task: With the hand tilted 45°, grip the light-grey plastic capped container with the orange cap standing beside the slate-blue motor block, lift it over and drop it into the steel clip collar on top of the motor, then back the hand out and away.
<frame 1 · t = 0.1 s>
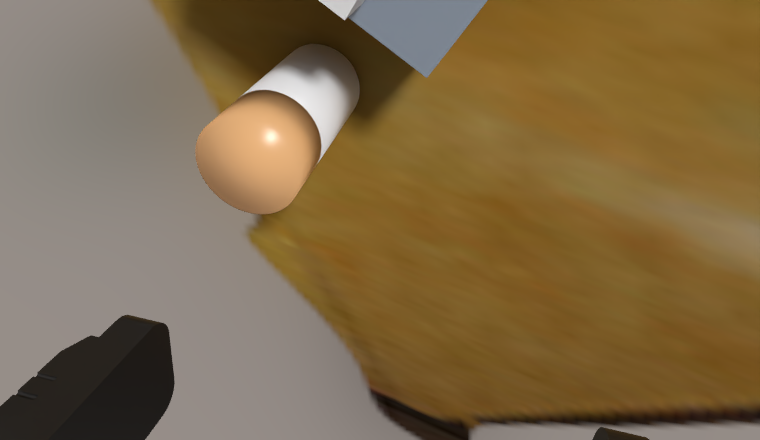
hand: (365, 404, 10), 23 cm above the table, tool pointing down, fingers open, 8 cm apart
capped container: (320, 85, 31), on the table
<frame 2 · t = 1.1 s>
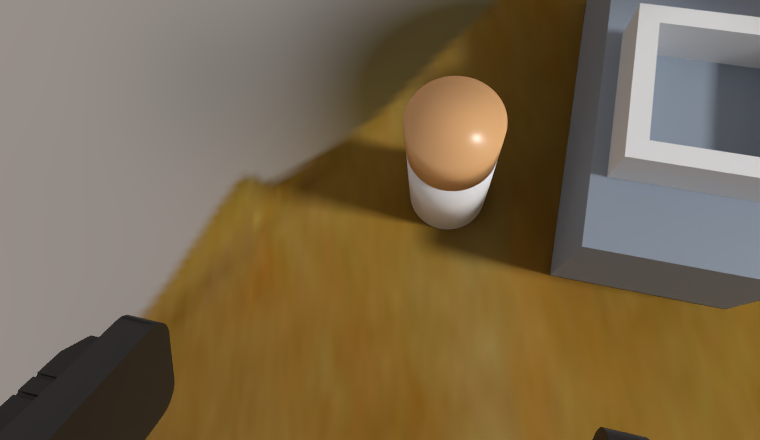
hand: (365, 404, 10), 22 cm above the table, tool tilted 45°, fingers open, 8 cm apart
capped container: (447, 193, 34), on the table
motor mount: (649, 140, 34), on the table
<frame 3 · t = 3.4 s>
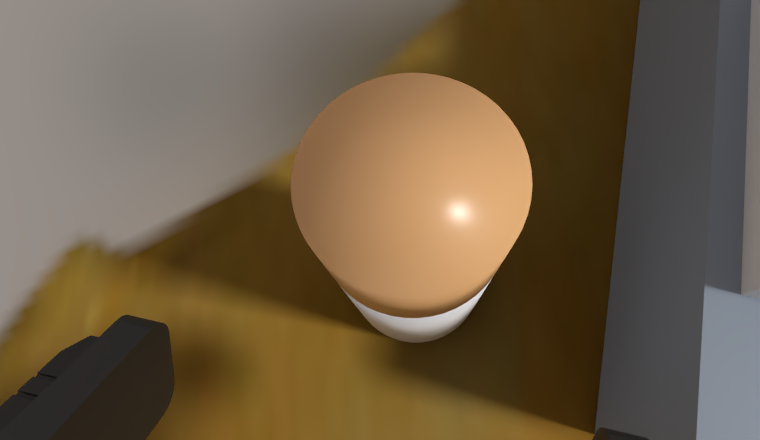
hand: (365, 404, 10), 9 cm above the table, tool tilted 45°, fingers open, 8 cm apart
capped container: (415, 277, 20), on the table
motor mount: (759, 189, 20), on the table
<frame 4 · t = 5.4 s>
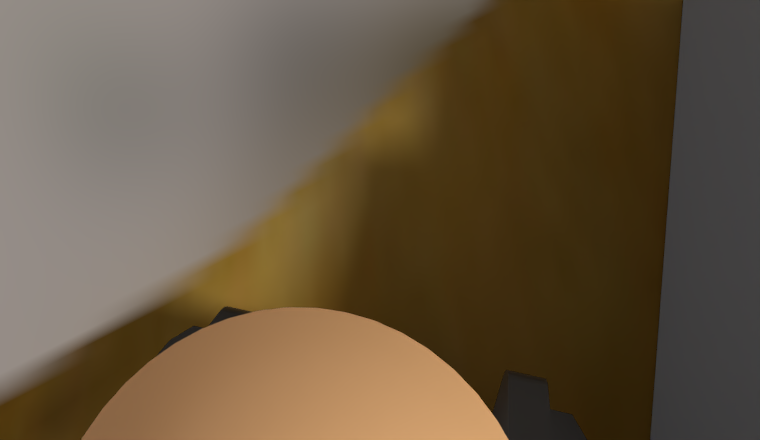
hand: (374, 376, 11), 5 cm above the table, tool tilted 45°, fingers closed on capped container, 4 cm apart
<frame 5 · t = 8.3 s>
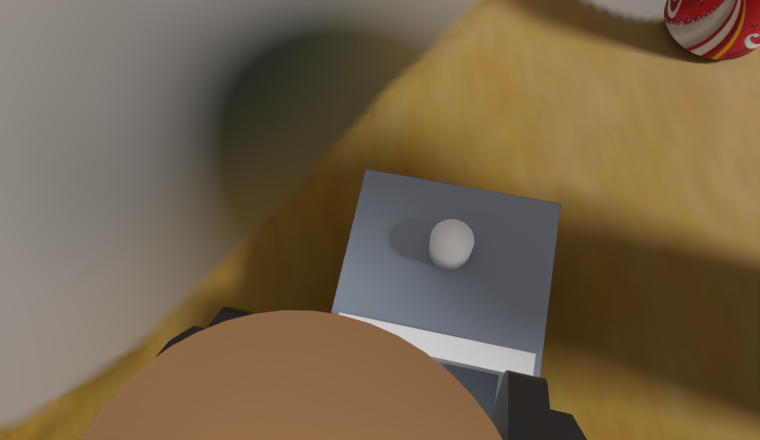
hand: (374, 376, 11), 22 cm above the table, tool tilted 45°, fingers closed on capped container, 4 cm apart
soda can: (707, 27, 38), on the table
motor mount: (422, 388, 31), on the table
when the fingers open (13 cm above the table, at t = 11.2 s): capped container stays where it is, resting on motor mount.
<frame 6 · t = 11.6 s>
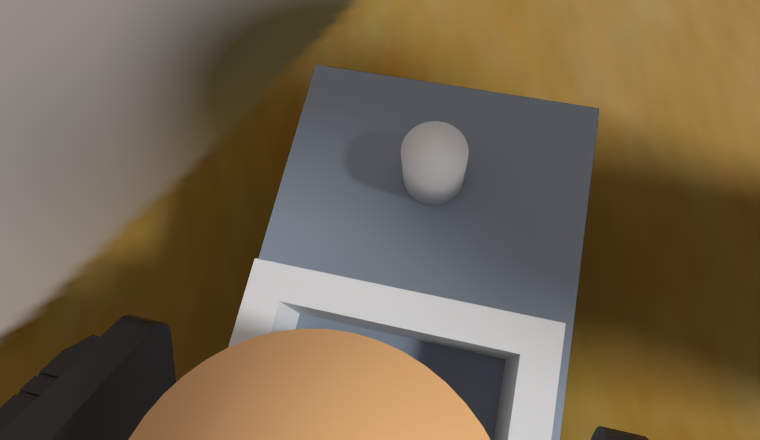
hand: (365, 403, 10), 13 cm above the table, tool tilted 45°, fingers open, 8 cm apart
motor mount: (400, 380, 23), on the table
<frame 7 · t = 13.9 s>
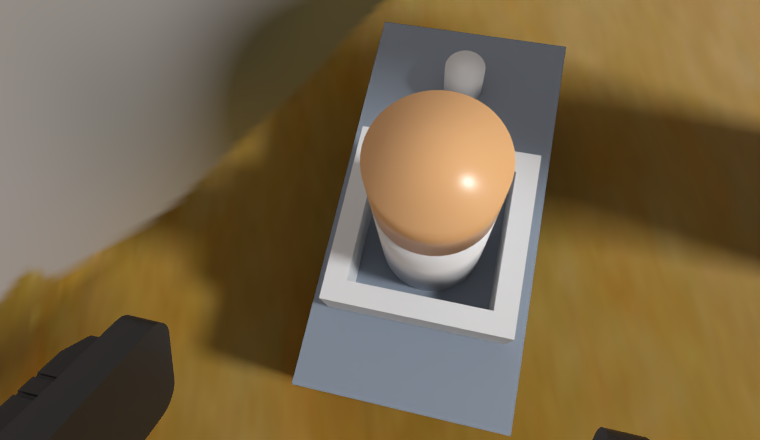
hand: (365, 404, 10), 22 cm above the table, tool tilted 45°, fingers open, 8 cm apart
capped container: (431, 242, 26), point 7 cm above the table, touching motor mount
motor mount: (436, 239, 33), on the table
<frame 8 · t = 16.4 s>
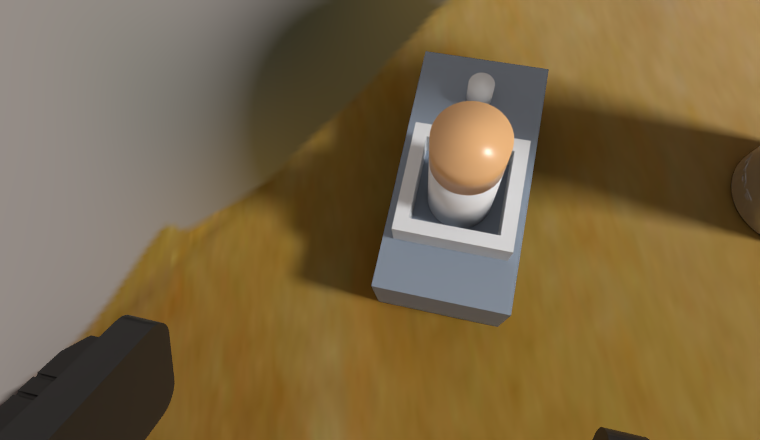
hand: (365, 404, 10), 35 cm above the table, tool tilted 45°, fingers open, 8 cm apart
capped container: (459, 197, 40), point 7 cm above the table, touching motor mount
motor mount: (458, 202, 47), on the table
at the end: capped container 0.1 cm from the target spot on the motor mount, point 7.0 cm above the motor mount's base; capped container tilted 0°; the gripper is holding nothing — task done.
